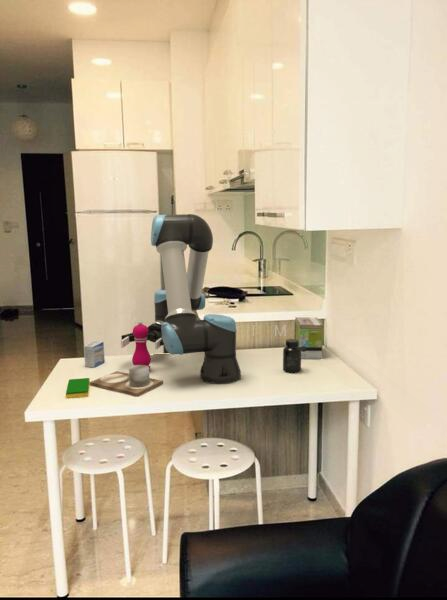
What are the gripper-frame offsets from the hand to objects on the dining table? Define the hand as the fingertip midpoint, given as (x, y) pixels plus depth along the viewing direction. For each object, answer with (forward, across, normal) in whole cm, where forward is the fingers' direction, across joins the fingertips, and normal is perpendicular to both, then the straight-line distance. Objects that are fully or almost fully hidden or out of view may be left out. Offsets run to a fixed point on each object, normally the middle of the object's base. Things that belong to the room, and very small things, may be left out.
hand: (138, 345), depth 192 cm
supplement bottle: (-12, -57, -11) cm, 59 cm away
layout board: (+13, 0, -11) cm, 17 cm away
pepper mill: (-2, 0, -11) cm, 11 cm away
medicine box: (-7, +22, -11) cm, 25 cm away
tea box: (-36, -62, -11) cm, 73 cm away
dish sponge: (+22, +15, -12) cm, 28 cm away
